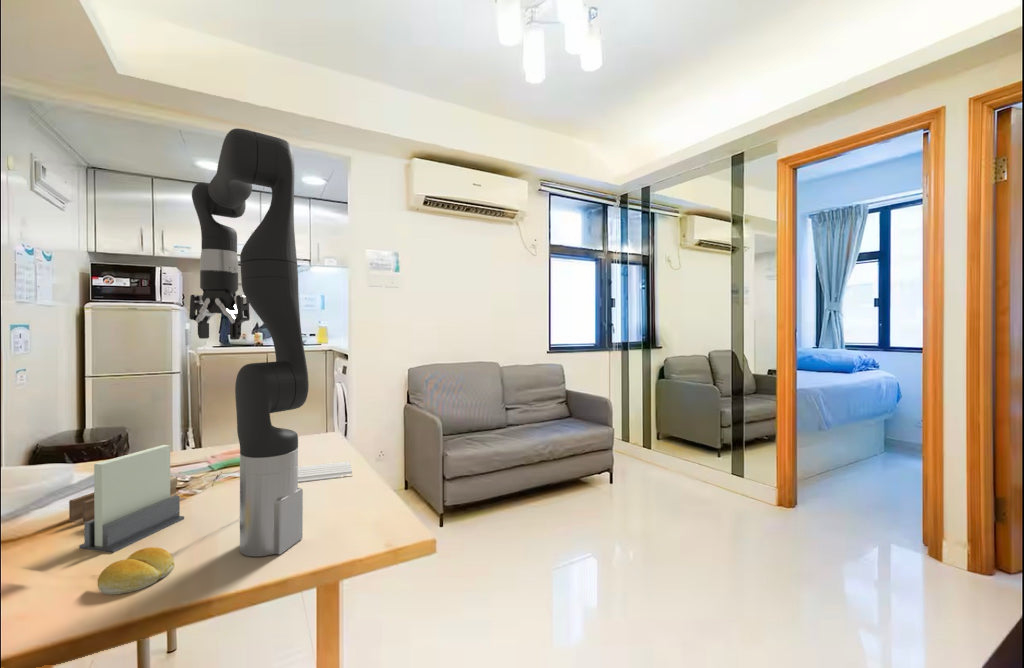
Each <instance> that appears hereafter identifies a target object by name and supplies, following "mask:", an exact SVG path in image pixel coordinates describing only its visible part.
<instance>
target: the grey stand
mask: <svg viewBox="0 0 1024 668" xmlns="http://www.w3.org/2000/svg"><path fill="white" fill-rule="evenodd" d="M180 498H181V497H180V495H178V494H177V495H175V496H172V497H170V498H167V499H165V500H162V501H160V502H158V503H155V504H153V505H150V506H148V507H145V508H143V509H140V510H138V511H135V512H133V513H131V514H128V515H126V516H123V517H121V518H118V519H116V520H113V521H111V522H109V523H106V524H104V525H103V546H95V519H93V520H90V521H87V522H85V523H83V524H84V525H83V526H84V527H83V528H84V535H83V536H84V542H83V543H82V544H79V546H78V547H79V549H81V550H88V551H95V552H103V553H108V554H109V553H111V554H114V553H117V552H118V551H120V550H122V549H125V548H127V547H129V546H131V545H133V544H136V543H138V542H139V541H141V540H143V539H146V538H148V537H150V536H152V535H154V534H156V533H158V532H160V531H163V530H164V529H166V528H168V527H169V528H170V527H171V526H173V525H175V524H177V523H180V522H181V521H184V520H185V516H184V515H183V516H182V515H180V511H181V510H180V507H181V506H180V505H181V503H180V502H181V501H180Z"/></svg>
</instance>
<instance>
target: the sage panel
mask: <svg viewBox="0 0 1024 668" xmlns="http://www.w3.org/2000/svg"><path fill="white" fill-rule="evenodd" d="M93 470H94V471H93V473H94V474H93V482H94V487H93V488H94V489H93V491H94V512H95V546H103V525H104V524H106V523H109V522H111V521H113V520H116V519H118V518H121V517H123V516H126V515H128V514H131V513H133V512H135V511H138V510H140V509H143V508H145V507H148V506H150V505H153V504H155V503H158V502H160V501H162V500H165V499H167V498H170V476H171V445H170V444H169V445H168V444H162V445H161V444H160V445H158V446H153V447H149V448H147V449H144V450H140V451H136V452H131V453H129V454H125V455H121V456H118V457H114V458H110V459H107V460H104V461H99V462H96V463H94V464H93Z"/></svg>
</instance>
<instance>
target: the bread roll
mask: <svg viewBox="0 0 1024 668" xmlns="http://www.w3.org/2000/svg"><path fill="white" fill-rule="evenodd" d="M175 567H176V563H175V560H174V557H173V555H172V554H171V553H170V552H169V551H167V550H166V549H164V548H161V547H158V546H156V547H154V546H153V547H145V548H141V549H138V550H136V551H134V552H132V553H131V554H130V555H129V556H128V557H127V558H126V559H125V558H124V559H120V560H118V561H115V562H112V563H111V564H109V565H108V566H106V567H105V568H104V569H103V570H102V571H101V572H100V575H98V578H97V583H96V584H97V587H98V590H99V591H100V592H101V593H102V594H104V595H108V596H109V595H121V594H126V593H133V592H136V591H140V590H142V589H145V588H147V587H149V586H151V585H153V584H155V583H157V581H158V580H160V579H163V578H165V577H166V576H167V575H169V574H170V573H171V572H172V571H173V570H174V568H175Z"/></svg>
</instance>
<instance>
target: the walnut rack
mask: <svg viewBox="0 0 1024 668" xmlns="http://www.w3.org/2000/svg"><path fill="white" fill-rule="evenodd" d="M184 500H187V497H180V502H181V501H184ZM68 507H69V510H68V511H69V512H68V515H69V520H68V522H69V523H70V522H73V523H79V524H80V523H81V524H84V523H85V522H87V521H90V520H93V519H95V512H94V492H91V493H87V494H85V495H82V496H80V497H76V498H73V499H70V500H69V501H68Z"/></svg>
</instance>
